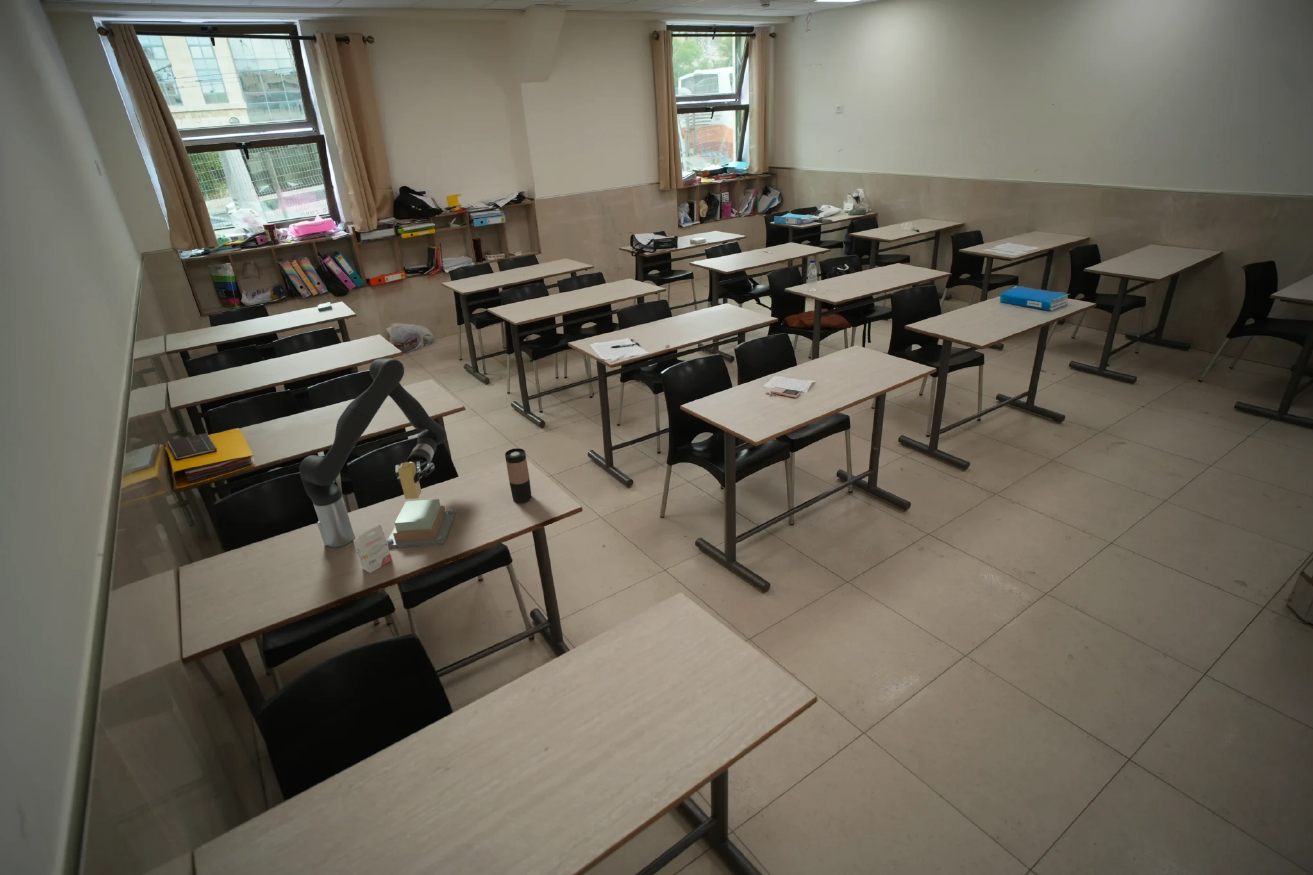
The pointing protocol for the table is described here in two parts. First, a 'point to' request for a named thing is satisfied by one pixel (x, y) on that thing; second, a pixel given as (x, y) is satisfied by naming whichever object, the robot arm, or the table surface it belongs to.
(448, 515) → the layered square stand
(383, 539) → the ink cartridge box
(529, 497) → the travel mug
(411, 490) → the ochre brick
